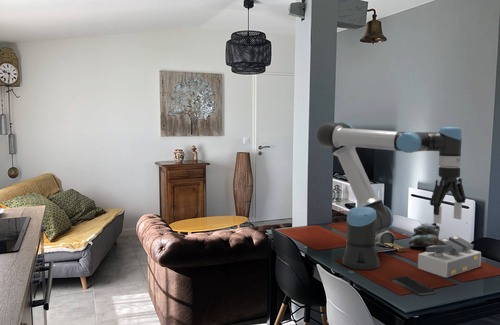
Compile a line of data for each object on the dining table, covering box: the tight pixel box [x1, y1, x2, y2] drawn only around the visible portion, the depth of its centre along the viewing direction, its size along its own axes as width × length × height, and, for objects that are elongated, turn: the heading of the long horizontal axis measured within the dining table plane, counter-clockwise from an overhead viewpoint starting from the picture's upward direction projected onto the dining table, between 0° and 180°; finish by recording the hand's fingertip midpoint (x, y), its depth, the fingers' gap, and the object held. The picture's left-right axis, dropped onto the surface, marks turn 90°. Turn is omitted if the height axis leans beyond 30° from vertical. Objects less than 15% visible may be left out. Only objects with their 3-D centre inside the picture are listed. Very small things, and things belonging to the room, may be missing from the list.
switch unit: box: [417, 249, 482, 278], centre depth 160 cm, size 24×12×8 cm, turn 121°
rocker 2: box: [437, 237, 463, 254], centre depth 159 cm, size 8×5×2 cm, turn 31°
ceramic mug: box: [375, 230, 396, 246], centre depth 191 cm, size 11×8×8 cm
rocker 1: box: [425, 245, 452, 252], centre depth 156 cm, size 8×5×2 cm, turn 31°
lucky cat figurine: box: [408, 222, 441, 248], centre depth 187 cm, size 15×12×14 cm
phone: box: [391, 275, 437, 297], centre depth 140 cm, size 8×1×15 cm
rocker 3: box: [448, 235, 475, 251], centre depth 163 cm, size 8×5×2 cm, turn 31°
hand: (447, 220), depth 152 cm, fingers open, 13 cm apart
